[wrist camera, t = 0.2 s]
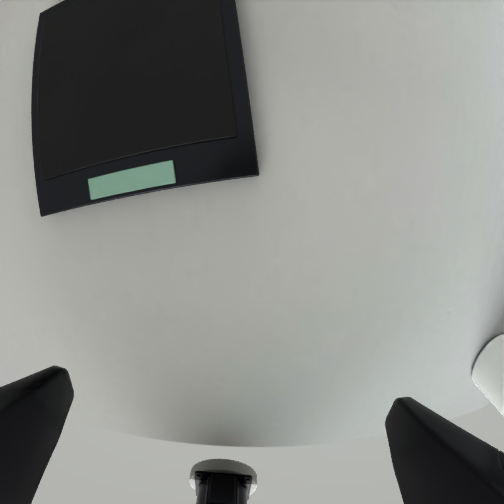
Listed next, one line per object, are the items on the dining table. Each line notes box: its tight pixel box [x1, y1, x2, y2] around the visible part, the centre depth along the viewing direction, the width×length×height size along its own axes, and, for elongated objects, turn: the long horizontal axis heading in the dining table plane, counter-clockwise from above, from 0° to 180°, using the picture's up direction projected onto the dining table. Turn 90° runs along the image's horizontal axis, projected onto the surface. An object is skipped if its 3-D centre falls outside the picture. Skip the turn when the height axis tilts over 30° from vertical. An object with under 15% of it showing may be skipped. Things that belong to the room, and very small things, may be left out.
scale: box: [31, 0, 259, 217], centre depth 16 cm, size 18×16×2 cm
